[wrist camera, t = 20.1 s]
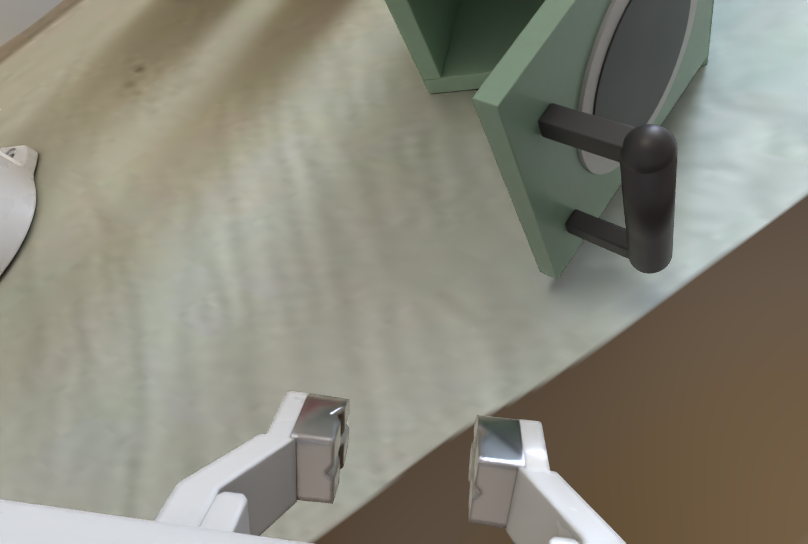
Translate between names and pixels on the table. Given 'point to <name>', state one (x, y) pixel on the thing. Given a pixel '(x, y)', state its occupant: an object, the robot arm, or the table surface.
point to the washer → (462, 37)
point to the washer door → (594, 123)
